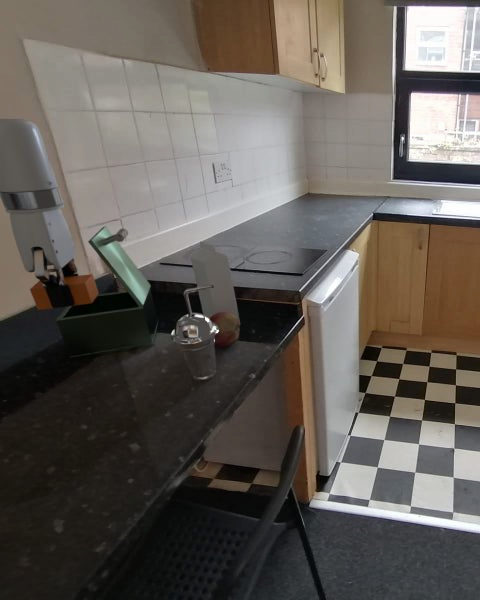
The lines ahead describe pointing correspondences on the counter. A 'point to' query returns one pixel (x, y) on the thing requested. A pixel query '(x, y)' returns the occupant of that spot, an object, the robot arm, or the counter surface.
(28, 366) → the counter surface
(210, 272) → the milk
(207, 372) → the cup with straw
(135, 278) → the bin lid
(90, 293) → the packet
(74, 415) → the counter surface
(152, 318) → the dark green storage bin
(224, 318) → the fruit
